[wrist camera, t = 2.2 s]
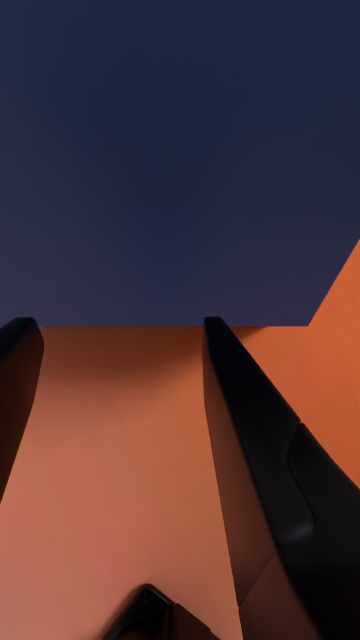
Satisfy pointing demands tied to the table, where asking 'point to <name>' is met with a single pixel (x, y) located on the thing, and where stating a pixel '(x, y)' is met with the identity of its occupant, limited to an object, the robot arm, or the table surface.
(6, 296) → the lid
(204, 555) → the table surface
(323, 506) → the robot arm
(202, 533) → the table surface
